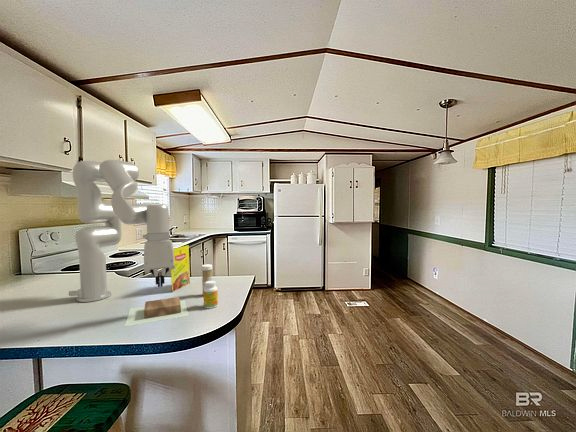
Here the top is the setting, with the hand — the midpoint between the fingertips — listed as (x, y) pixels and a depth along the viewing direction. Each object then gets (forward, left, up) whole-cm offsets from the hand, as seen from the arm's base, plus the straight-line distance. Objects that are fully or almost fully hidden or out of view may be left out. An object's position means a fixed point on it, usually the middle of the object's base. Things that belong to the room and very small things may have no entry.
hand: (160, 285), depth 103 cm
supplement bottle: (+18, -2, -10) cm, 21 cm away
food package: (+9, +31, -10) cm, 34 cm away
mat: (-1, 0, -10) cm, 10 cm away
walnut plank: (-5, 0, -8) cm, 10 cm away
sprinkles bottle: (+19, +13, -10) cm, 25 cm away
